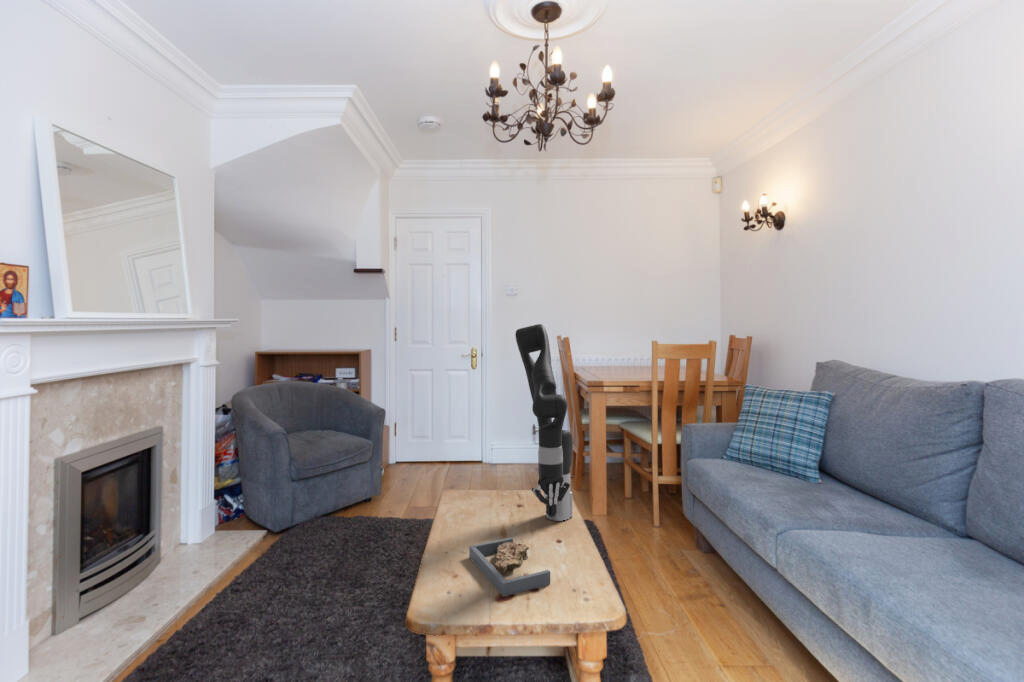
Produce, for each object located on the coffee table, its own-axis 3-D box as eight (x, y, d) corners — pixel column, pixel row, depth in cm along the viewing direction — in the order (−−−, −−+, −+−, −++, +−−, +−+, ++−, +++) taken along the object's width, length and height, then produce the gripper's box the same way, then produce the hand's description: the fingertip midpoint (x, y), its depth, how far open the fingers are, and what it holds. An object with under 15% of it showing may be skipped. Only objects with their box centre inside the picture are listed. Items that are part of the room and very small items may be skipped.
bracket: (511, 548, 156) (511, 537, 156) (550, 584, 133) (550, 571, 133) (469, 557, 149) (469, 546, 149) (503, 596, 127) (503, 583, 127)
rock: (528, 569, 136) (494, 561, 137) (524, 586, 137) (490, 577, 137) (530, 541, 153) (500, 533, 153) (527, 556, 153) (497, 548, 154)
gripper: (561, 454, 153) (562, 507, 154) (525, 460, 147) (526, 515, 147) (575, 459, 146) (576, 515, 147) (538, 466, 140) (539, 524, 141)
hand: (551, 515), depth 147 cm, fingers closed
